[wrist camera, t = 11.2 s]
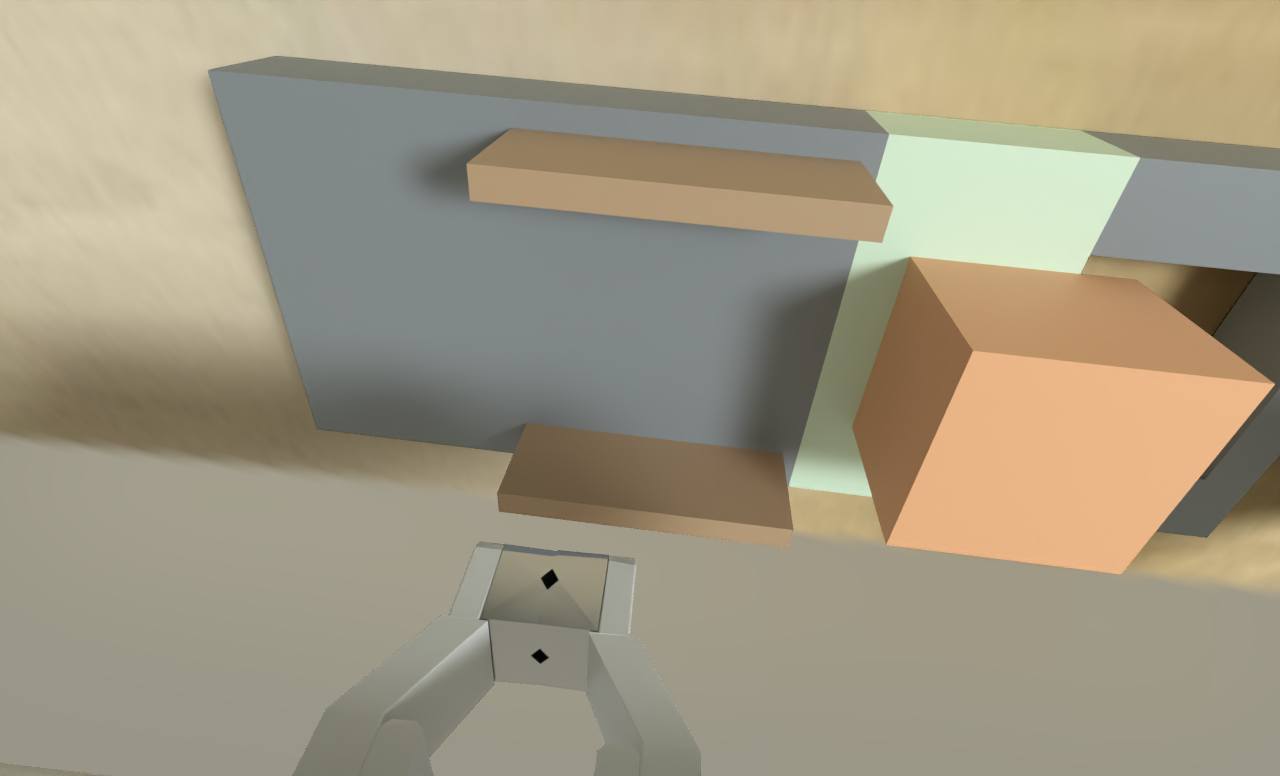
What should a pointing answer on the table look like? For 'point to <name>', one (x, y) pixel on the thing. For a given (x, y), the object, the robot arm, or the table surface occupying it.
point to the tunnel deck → (685, 272)
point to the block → (1041, 414)
